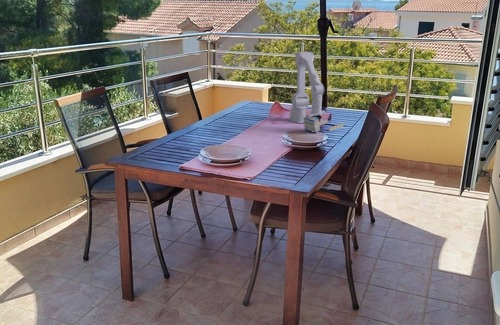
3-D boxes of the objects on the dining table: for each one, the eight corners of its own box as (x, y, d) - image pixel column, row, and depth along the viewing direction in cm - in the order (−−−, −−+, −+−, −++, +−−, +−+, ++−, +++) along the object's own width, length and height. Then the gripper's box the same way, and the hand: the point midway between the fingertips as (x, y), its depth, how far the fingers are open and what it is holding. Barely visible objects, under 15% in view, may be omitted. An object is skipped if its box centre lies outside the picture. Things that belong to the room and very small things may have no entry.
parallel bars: (312, 126, 302) (312, 123, 301) (326, 122, 311) (326, 119, 310) (329, 131, 293) (330, 127, 293) (343, 126, 303) (343, 123, 302)
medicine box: (304, 130, 293) (302, 118, 288) (309, 127, 295) (307, 114, 291) (315, 133, 288) (314, 120, 283) (320, 129, 291) (318, 117, 286)
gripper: (314, 108, 281) (313, 131, 285) (329, 104, 290) (328, 126, 295) (304, 106, 285) (303, 128, 290) (319, 102, 295) (318, 124, 300)
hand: (315, 127), depth 293 cm, fingers closed
